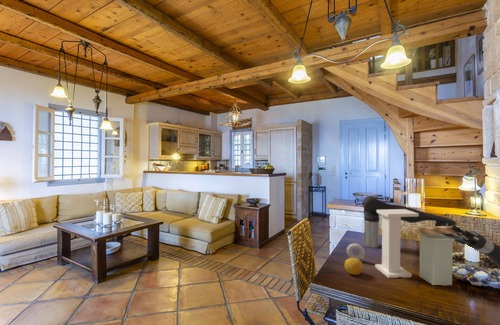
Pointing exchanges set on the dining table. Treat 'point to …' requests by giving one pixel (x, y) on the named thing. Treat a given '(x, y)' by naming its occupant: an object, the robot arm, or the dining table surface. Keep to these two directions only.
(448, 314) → the dining table surface
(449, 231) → the wooden bar
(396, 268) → the tall stand
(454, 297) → the dining table surface
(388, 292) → the dining table surface
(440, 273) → the green post
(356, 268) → the fruit
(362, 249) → the donut
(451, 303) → the dining table surface
